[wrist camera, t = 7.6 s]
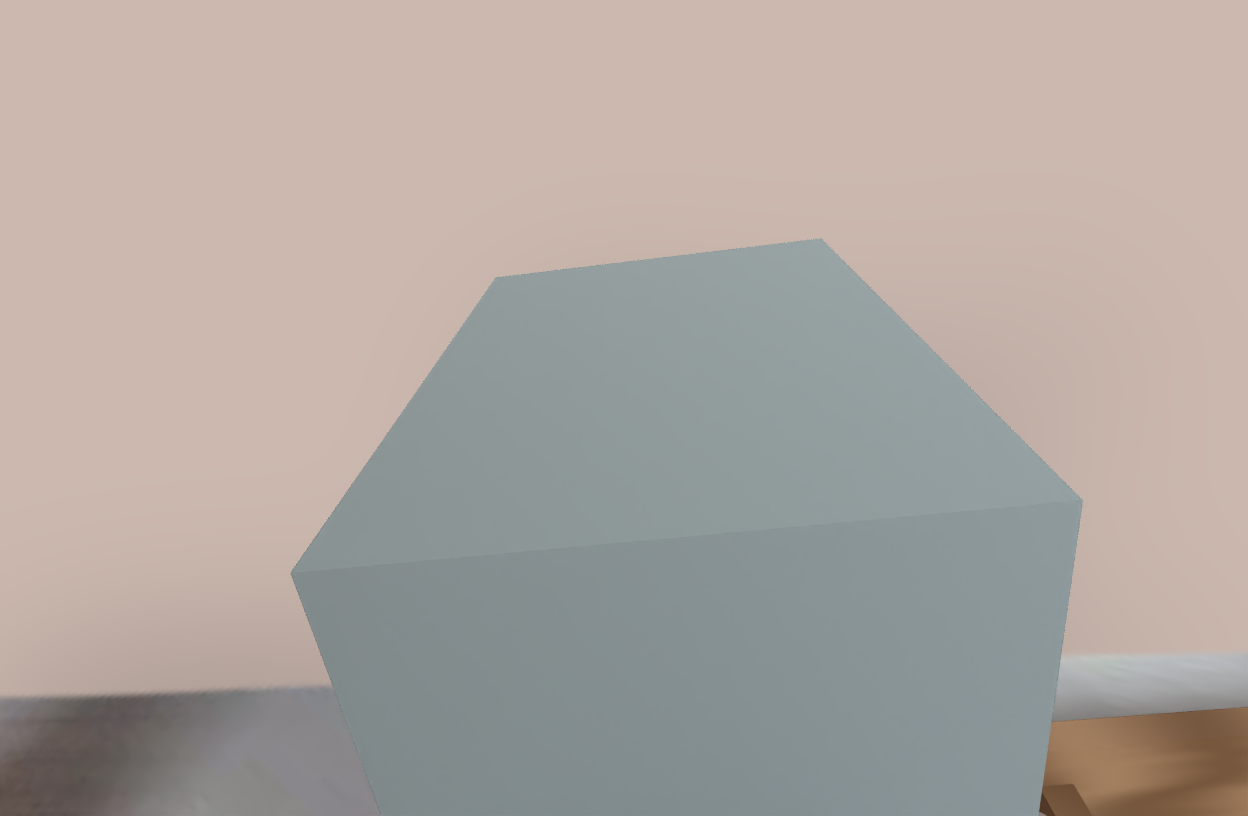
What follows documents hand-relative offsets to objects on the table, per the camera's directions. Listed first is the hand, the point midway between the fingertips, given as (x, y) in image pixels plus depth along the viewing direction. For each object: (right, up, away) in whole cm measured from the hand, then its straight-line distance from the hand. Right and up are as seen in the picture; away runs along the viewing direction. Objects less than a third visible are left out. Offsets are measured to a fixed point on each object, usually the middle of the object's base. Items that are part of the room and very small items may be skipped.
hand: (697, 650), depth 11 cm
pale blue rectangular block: (+1, -8, +1) cm, 8 cm away
